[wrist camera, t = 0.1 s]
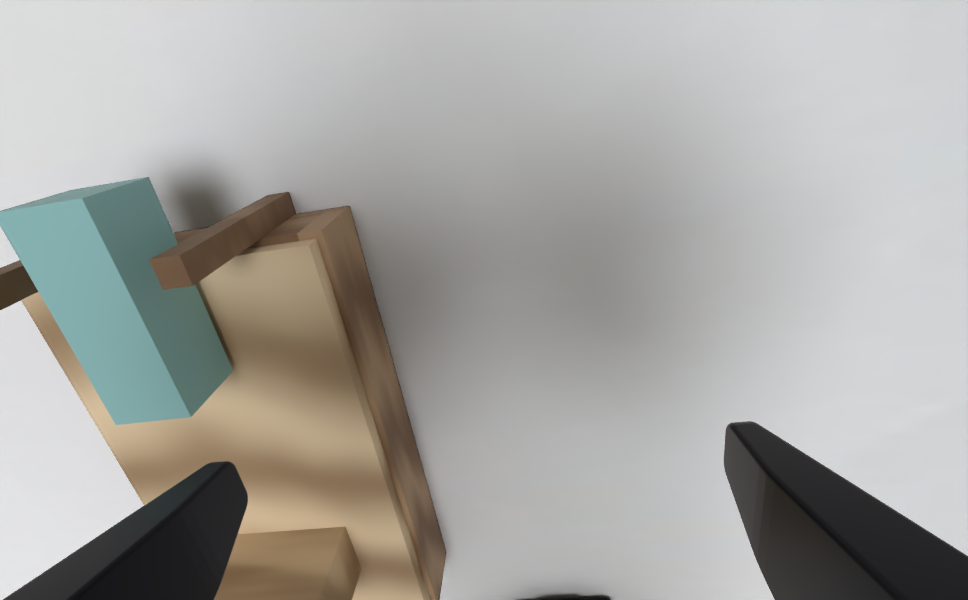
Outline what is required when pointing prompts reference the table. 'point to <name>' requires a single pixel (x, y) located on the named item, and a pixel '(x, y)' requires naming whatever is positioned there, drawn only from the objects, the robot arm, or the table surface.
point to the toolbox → (361, 320)
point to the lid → (277, 437)
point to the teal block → (120, 299)
